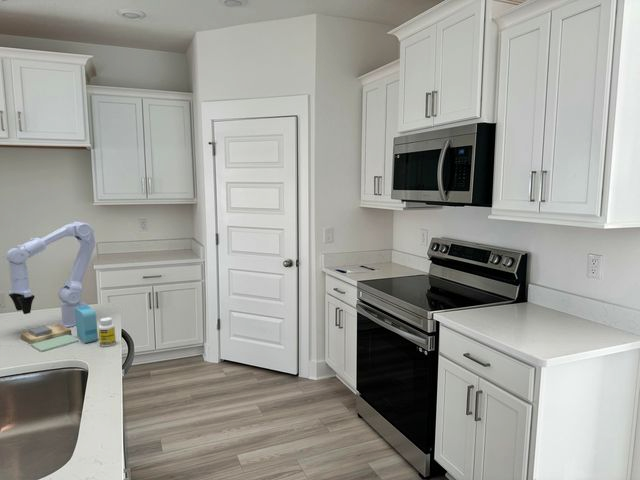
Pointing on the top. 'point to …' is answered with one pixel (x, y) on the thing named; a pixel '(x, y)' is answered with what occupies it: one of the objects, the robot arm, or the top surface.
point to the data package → (86, 324)
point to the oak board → (56, 332)
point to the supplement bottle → (106, 332)
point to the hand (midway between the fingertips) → (23, 311)
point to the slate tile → (39, 331)
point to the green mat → (54, 343)
